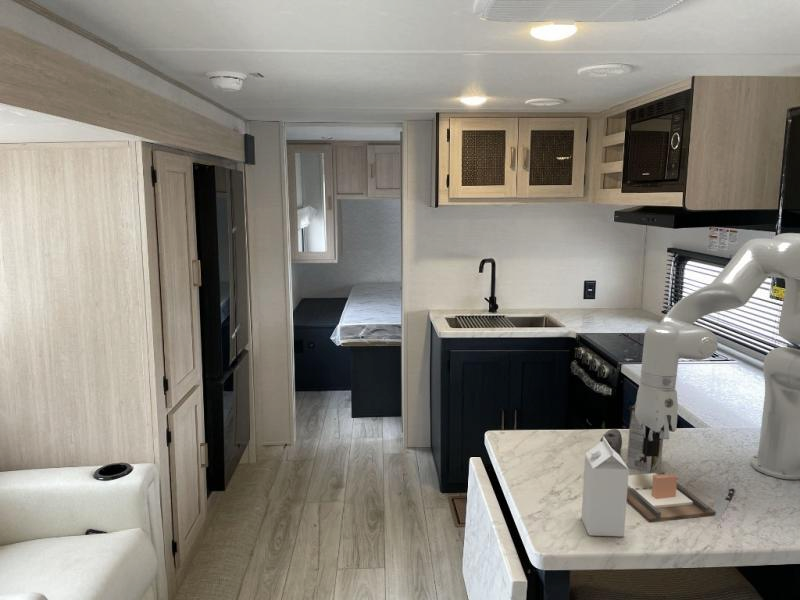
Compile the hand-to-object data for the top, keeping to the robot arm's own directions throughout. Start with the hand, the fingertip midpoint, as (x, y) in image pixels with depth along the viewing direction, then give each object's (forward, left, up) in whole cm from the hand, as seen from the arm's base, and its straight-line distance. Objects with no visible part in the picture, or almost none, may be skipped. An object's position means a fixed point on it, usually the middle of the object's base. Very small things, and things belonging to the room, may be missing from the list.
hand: (650, 454), depth 142 cm
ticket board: (-1, +3, -9) cm, 10 cm away
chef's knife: (-13, +9, -10) cm, 18 cm away
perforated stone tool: (-2, -20, -10) cm, 22 cm away
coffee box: (-8, -14, -9) cm, 18 cm away
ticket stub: (-1, +5, -8) cm, 10 cm away
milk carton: (+18, +12, -9) cm, 24 cm away
